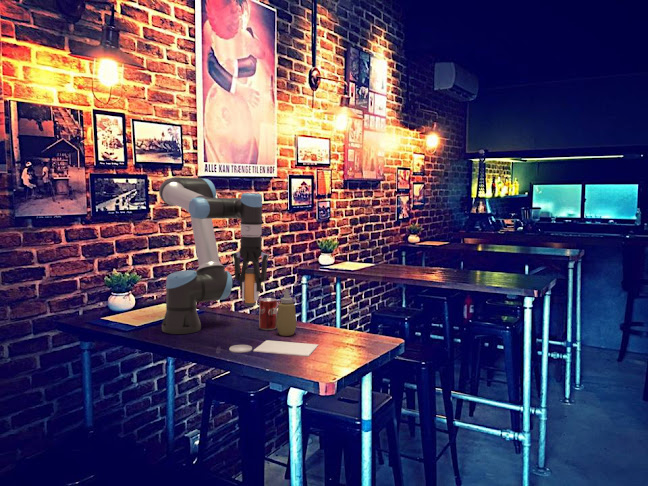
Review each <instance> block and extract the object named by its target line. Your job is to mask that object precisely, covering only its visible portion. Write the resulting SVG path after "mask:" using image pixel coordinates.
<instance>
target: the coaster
mask: <svg viewBox="0 0 648 486" xmlns="http://www.w3.org/2000/svg"><path fill="white" fill-rule="evenodd" d="M251 351H253V346H251V345H249V344H234V345H231V346H230V347H229V352H231V353H236V354H237V353H238V354H239V353H241V354H242V353H249V352H251Z"/></svg>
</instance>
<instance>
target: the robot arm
mask: <svg viewBox="0 0 648 486" xmlns="http://www.w3.org/2000/svg"><path fill="white" fill-rule="evenodd" d="M158 189H159V190H158V192H159V197H160V199H161V200H162V202H163V203H165V204H167V205H170V206H177V207H179V208H181V209H184V210H185V212H187V213H188V214H189V216H190V221H191V222H190V223H191V226H192V227H191V228H192V232H193V233H192V234H193V239H194V243H195V249H196V250H195V251H196V256H197V257H196V258H197V262H198V268H197V269H196V270H193V269H187V270H185V269H183V270H180V271H179V270H178V271H174V272H172V273H170V274H168V275H167V277H166V284H165V292H166V295H165V296H166V297H165V298H166V302H165V303H166V304H165V308H166V309H165V315H164V317H163V320H162V323H161V331H162V332H163V333H165V334H170V335H184V334H185V335H186V334H192V333H197V332H199V331H201V330H202V323H201V320H200V318H199V314H198V312H197V303H204V302H211V301H212V302H213V301H221V300H225V299H228V297H229V296H230V295H231V292H232V290H233V276H232V274H231V273H230V271H228V270H226V269H225V266H224V265H223V264H222V263H221V262H220V257H219V252H218V245H217V240H216V236H215V230H214V225H213V219H239V220H240V235H241V236H240V248H239V251H237V252H233V253H232V258H233V261H234V263H233V264H234V279H235V280H236V281H238V282H239V290H240V291H241V300H242V301H245V269H246V268H249V263H250V262H251V263H252V266H253V268H254V272H255V277H256V283H254V301H256V302H257V301H258V300H259V297H260V296H259V292H261V291H262V282H263V283H264V282H265V281H267V277H268V276H267V272H268V259H269V257H270V254H269V253H265V252H263V250H262V237H261V236H262V234H263V233H262V231H263V230H262V229H263V228H262V225H263V224H262V222H263V220H262V219H263V218H262V217H263V196H262V194H260V193H249V192H247V193H241V196H240V198H239V197H216V196H217V189H216V187H215V184H214V183H213V182H212V181H211V180H210V179H208V178H202V177H179V176H177V177H176V176H175V177H170V178H168V179H166V180H165V181H163V182H162V183H161V184H160V187H159V188H158ZM241 257H242V265H241ZM260 257H261V259H262V260H261V270H260V264H259V263H260V260H259V259H260ZM259 301H260V300H259Z"/></svg>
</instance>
